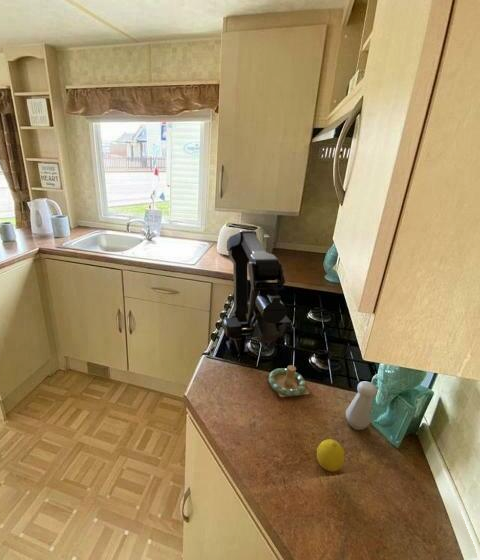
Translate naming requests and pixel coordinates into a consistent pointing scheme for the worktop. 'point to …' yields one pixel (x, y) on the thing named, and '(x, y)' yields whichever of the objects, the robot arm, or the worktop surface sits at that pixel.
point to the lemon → (330, 455)
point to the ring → (282, 390)
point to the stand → (289, 380)
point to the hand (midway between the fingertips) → (253, 349)
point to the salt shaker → (361, 406)
